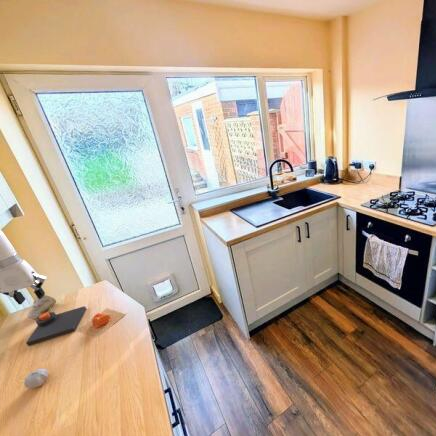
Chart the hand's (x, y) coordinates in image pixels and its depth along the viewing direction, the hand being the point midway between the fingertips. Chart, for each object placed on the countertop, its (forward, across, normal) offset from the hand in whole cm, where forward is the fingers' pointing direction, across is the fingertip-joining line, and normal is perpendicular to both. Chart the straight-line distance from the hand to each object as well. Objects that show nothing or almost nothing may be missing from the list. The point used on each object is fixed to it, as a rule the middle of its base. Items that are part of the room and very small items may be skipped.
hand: (32, 299), depth 97 cm
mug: (+14, -6, +10) cm, 18 cm away
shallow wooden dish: (+14, +22, -10) cm, 28 cm away
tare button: (+10, 0, 0) cm, 10 cm away
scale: (+14, +5, -4) cm, 15 cm away
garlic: (+14, +10, -31) cm, 35 cm away
